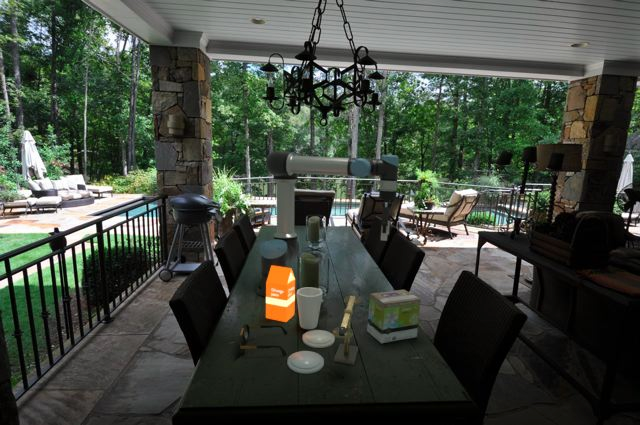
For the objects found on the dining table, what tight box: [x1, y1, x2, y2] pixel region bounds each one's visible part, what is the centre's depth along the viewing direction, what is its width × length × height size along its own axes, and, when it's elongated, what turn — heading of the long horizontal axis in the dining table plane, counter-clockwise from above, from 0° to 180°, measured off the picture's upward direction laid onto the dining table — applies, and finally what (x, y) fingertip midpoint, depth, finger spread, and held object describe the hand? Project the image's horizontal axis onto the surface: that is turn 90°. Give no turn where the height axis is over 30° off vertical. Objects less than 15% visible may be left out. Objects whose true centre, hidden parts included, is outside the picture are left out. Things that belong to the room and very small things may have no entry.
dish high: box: [302, 329, 336, 349], centre depth 124 cm, size 11×11×1 cm
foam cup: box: [295, 286, 324, 330], centre depth 133 cm, size 10×9×13 cm
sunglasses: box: [239, 323, 288, 357], centre depth 119 cm, size 14×15×5 cm
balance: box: [332, 295, 363, 365], centre depth 113 cm, size 22×6×17 cm, turn 165°
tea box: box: [366, 289, 421, 344], centre depth 128 cm, size 15×10×15 cm
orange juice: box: [265, 265, 296, 323], centre depth 139 cm, size 8×9×20 cm
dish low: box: [286, 350, 325, 375], centre depth 109 cm, size 11×11×1 cm
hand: (384, 237), depth 163 cm, fingers open, 13 cm apart
